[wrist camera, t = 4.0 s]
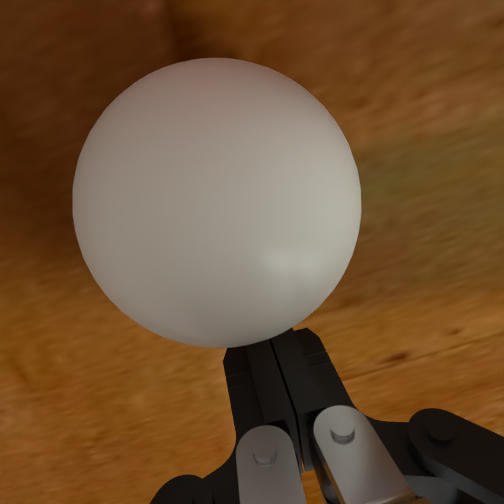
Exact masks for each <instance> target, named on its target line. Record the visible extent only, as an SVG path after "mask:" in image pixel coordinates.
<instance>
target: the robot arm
mask: <svg viewBox="0 0 504 504" xmlns="http://www.w3.org/2000/svg"><path fill="white" fill-rule="evenodd" d="M223 365H224V370H225V376H226V381H227V387H228V392H229V398H230V403H231V409H232V414H233V420H234V425H235V431H236V444H235V447H234V450H233V452H232V454H231V456H230V457H229V459H228V460H227V461H226V462H225V463H224V464H223V465H222V466H221V467H219V468H218V469H217V470H215V471H214V472H212V473H211V474H209V475H207V476H206V477H204V478H203V479H202V478H200V477H198V476H195V475H181V476H177V477H175V478H173V479H171V480H169V481H168V482H167V483H165V484H164V485H163V486H162V487H161V488H160V489H159V491H158V492H157V493H156V495H155V496H154V498H153V499H152V501H151V503H150V504H306V500H305V495H304V491H303V486H302V480H301V473H303V468H302V462H303V465H304V468H305V471H310V470H313V469H314V470H315V473H316V476H317V479H318V481H319V484H320V491H321V498H322V501H323V503H324V504H504V437H503V436H501V435H498V434H496V433H494V432H492V431H490V430H488V429H485V428H483V427H481V426H479V425H477V424H474V423H472V422H470V421H468V420H466V419H464V418H461V417H459V416H457V415H455V414H453V413H450V412H448V411H445V410H441V409H435V408H429V409H423V410H420V411H418V412H417V413H415V414H414V415H413V416H412V417H411V419H410V421H409V422H386V421H379V420H375V419H372V418H370V417H368V416H366V415H364V414H363V413H361V412H360V411H359V410H358V409H357V408H356V407H355V406H354V404H353V403H352V401H351V399H350V397H349V395H348V393H347V391H346V389H345V387H344V385H343V383H342V381H341V379H340V378H339V376H338V374H337V372H336V370H335V368H334V366H333V364H332V363H331V360H330V358H329V356H328V354H327V352H326V350H325V348H324V346H323V344H322V342H321V340H320V338H319V337H318V336H317V335H316V334H314V333H313V332H312V331H311V330H309V329H308V328H304V329H300V330H296V331H293V328H290V329H288V330H287V331H285V332H283V333H281V334H279V335H277V336H274V337H272V338H269V339H266V340H263V341H260V342H257V343H253V344H249V345H244V346H238V347H231V348H227V351H226V354H225V357H224V360H223ZM301 459H302V461H301Z"/></svg>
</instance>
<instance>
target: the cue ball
mask: <svg viewBox="0 0 504 504" xmlns="http://www.w3.org/2000/svg"><path fill="white" fill-rule="evenodd" d="M360 219H361V188H360V182H359V176H358V170H357V167H356V164H355V161H354V158H353V155H352V153H351V150H350V147H349V144H348V142H347V140H346V138H345V136H344V134H343V133H342V131H341V129H340V127H339V126H338V124H337V123H336V121H335V120H334V118H333V117H332V116H331V115H330V113H329V112H328V111H327V109H326V108H325V107H324V106H323V105H322V104H321V103H320V102H319V101H318V100H317V99H316V98H315V97H314V96H313V95H312V94H311V93H309V92H308V91H307V90H306V89H305V88H304V87H302V86H301V85H299V84H298V83H296V82H295V81H293V80H292V79H290V78H288V77H286V76H285V75H283V74H281V73H279V72H277V71H275V70H273V69H270V68H268V67H265V66H262V65H258V64H255V63H251V62H248V61H244V60H237V59H231V58H201V59H193V60H188V61H183V62H179V63H176V64H172V65H169V66H166V67H163V68H161V69H159V70H156V71H154V72H152V73H150V74H148V75H146V76H144V77H143V78H141V79H139V80H138V81H136V82H135V83H133V84H132V85H131V86H130V87H128V88H127V89H126V90H124V91H123V92H122V93H121V94H120V95H119V96H117V97H116V98H115V99H114V100H113V101H112V102H111V104H110V105H109V106H108V107H107V108H106V109H105V110H104V112H103V113H102V114H101V116H100V117H99V119H98V120H97V122H96V123H95V125H94V126H93V128H92V129H91V131H90V132H89V135H88V137H87V139H86V141H85V143H84V146H83V148H82V151H81V153H80V156H79V158H78V163H77V167H76V171H75V177H74V182H73V221H74V227H75V233H76V237H77V240H78V243H79V246H80V249H81V252H82V255H83V258H84V261H85V263H86V264H87V266H88V268H89V270H90V272H91V274H92V276H93V277H94V279H95V281H96V282H97V284H98V285H99V286H100V288H101V289H102V290H103V292H104V293H105V295H106V296H107V297H108V298H109V299H110V300H111V301H112V302H113V303H114V304H115V305H116V306H117V307H118V308H119V309H120V310H121V311H122V312H123V313H124V314H125V315H127V316H128V317H129V318H131V319H132V320H133V321H135V322H136V323H138V324H139V325H140V326H142V327H144V328H146V329H148V330H150V331H152V332H154V333H155V334H157V335H159V336H161V337H164V338H167V339H170V340H173V341H176V342H179V343H182V344H187V345H193V346H198V347H206V348H231V347H238V346H244V345H249V344H253V343H257V342H260V341H263V340H266V339H269V338H272V337H274V336H277V335H279V334H281V333H283V332H285V331H287V330H288V329H290V328H292V327H293V326H295V325H297V324H298V323H300V322H301V321H303V320H304V319H305V318H306V317H307V316H309V315H310V314H311V313H312V312H313V311H315V310H316V309H317V308H318V307H319V306H320V305H321V304H322V303H323V301H324V300H325V299H326V298H327V297H328V296H329V295H330V293H331V292H332V291H333V290H334V288H335V287H336V285H337V284H338V282H339V280H340V279H341V277H342V276H343V274H344V272H345V270H346V268H347V266H348V263H349V261H350V259H351V257H352V255H353V251H354V248H355V244H356V241H357V237H358V233H359V227H360Z"/></svg>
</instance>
